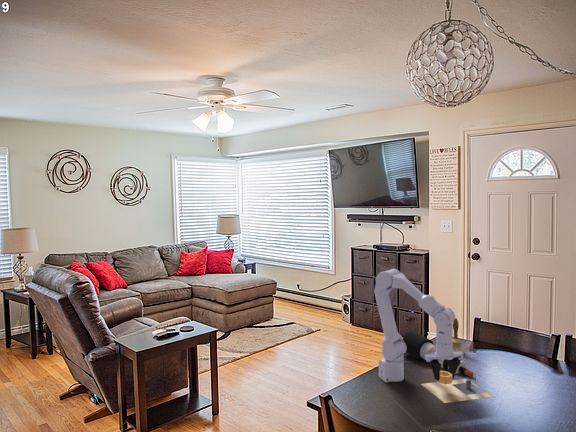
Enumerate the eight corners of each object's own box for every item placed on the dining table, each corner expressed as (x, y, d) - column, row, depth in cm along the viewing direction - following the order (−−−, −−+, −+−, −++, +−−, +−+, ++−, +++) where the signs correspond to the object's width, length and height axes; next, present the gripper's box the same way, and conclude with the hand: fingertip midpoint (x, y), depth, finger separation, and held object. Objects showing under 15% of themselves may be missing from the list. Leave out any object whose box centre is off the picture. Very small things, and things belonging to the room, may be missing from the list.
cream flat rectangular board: (444, 406, 151) (444, 393, 151) (420, 387, 166) (420, 375, 166) (494, 399, 155) (494, 387, 155) (466, 381, 171) (466, 370, 171)
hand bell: (468, 355, 199) (468, 320, 199) (450, 355, 199) (450, 321, 198) (460, 348, 208) (460, 315, 207) (443, 349, 207) (443, 316, 207)
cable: (466, 392, 172) (460, 373, 168) (404, 356, 201) (398, 339, 198) (482, 376, 175) (477, 357, 172) (419, 343, 205) (413, 326, 201)
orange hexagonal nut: (441, 384, 156) (441, 377, 156) (433, 378, 162) (433, 371, 162) (455, 383, 158) (455, 376, 157) (446, 377, 163) (446, 370, 163)
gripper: (432, 347, 153) (432, 385, 154) (468, 344, 157) (468, 381, 157) (422, 341, 160) (421, 377, 161) (457, 338, 163) (456, 373, 164)
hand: (444, 378), depth 160 cm, fingers closed on orange hexagonal nut, 5 cm apart
